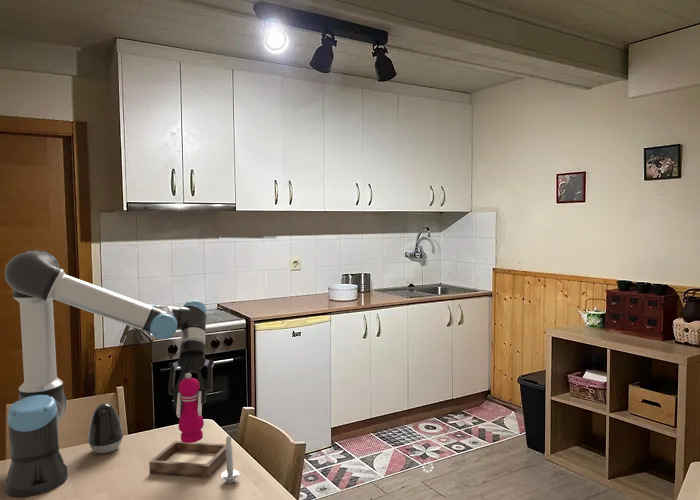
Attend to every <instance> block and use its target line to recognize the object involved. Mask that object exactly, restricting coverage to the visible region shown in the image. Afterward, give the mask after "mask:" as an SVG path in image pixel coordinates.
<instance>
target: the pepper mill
mask: <svg viewBox="0 0 700 500" xmlns="http://www.w3.org/2000/svg"><path fill="white" fill-rule="evenodd" d="M185 377H186V378H185V379H183V380H182V381H181V382H180V383H179V392H180V393H181V402H182V410H181V411H182V412H181V415H180V418H178V419H179V420H178V430H179V432H181V433H180V441H182V442H184V443H193V442H199V441H201V440H202V439H203V436H204V434H203V430H202V429H203V428H204V426H205V425H204V424H205V423H204V417H203V415H202V414H201V416H199V415H198V394H199V391H200V389H201V387H200V384H199V380H198V378H195V377H192V373H187V374H186V375H185Z"/></svg>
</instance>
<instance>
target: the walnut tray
mask: <svg viewBox="0 0 700 500" xmlns="http://www.w3.org/2000/svg"><path fill="white" fill-rule="evenodd" d="M226 455H227V454H226V443H214V442H212V443H210V442H199V441H197V442H193V443H184V442H182V441H181V440H174V441H173V442H172V443H171V444H169V445H168V446H167V447H165V448H164V449H163V450H162V451H161V452H160V453H158V454H157V455H156V456H155V457H153V458H152V459H151V460H150V461H148V463H149V474H150V475H162V476H175V477H188V478H198V479H210V478H211V477H212V476H213V475H214V473H216V471H218V469H219V468H220V467H222V465H223V464H224V463H225V462H226V461H227V460H226V459H227V458H226V457H227V456H226Z"/></svg>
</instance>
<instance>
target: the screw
mask: <svg viewBox="0 0 700 500" xmlns="http://www.w3.org/2000/svg"><path fill="white" fill-rule="evenodd" d="M225 442H226V443H225V444H226V454H227V455H226V456H227V457H226V458H227V459H226V460H225V462H226V463H225V464H226V470H225V471H223V472H222V473H221V476H220V477H221V479H223V480H225V483H226V484H229V485H231V484H235V483H236V478H239V476H240V472H239V471H238V470H237V469H234V457H233V456H234V455H233V452H234V451H233V449H234V448H233V444H232V437H231V436H226V440H225Z"/></svg>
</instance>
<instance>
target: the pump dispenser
mask: <svg viewBox="0 0 700 500" xmlns="http://www.w3.org/2000/svg"><path fill="white" fill-rule="evenodd" d="M88 428H89V429H88V435H87V443H88V445H89V447H90V448H91V450H92V451H93V452H95V453H96V454H100V455H101V454H103V455H104V454H109V453H112V452H114V451H115V450H117V449H118V448H119V447H120V445H121V443H122V441H123V438H124V430H123V426H122V423H121V420H120V417H119V415H118V412H117V410H116V409H115V407H114V406H113V405H112V404H110V403H107V402H105V403H101V404H99V405H97V406H96V408H95V409H94V411H93V414H92V416H91V419H90V423H89V427H88Z"/></svg>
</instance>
